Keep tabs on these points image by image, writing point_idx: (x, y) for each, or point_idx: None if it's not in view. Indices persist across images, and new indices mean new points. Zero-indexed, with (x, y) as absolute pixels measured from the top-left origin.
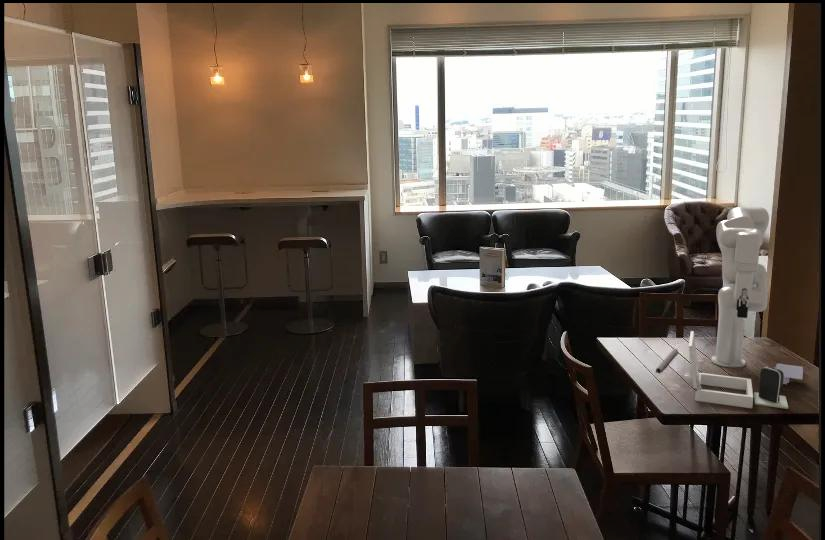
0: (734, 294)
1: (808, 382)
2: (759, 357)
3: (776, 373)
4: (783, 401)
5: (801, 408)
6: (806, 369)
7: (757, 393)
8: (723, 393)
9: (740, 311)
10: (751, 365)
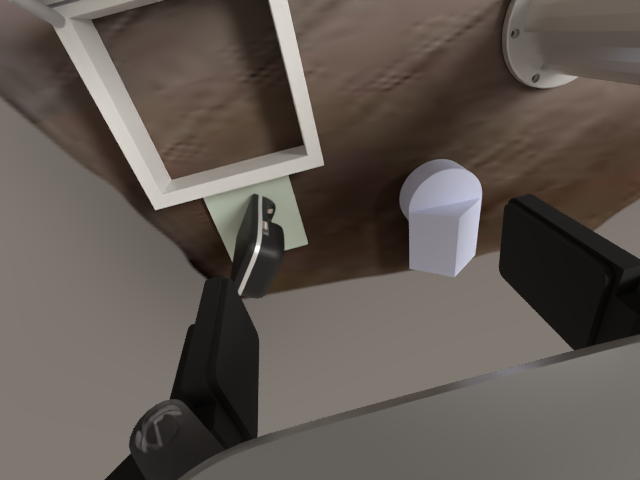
0: (488, 438)
1: None
2: (633, 110)
3: None
4: None
5: None
6: None
7: (282, 183)
8: (105, 120)
9: (181, 361)
10: (546, 105)
